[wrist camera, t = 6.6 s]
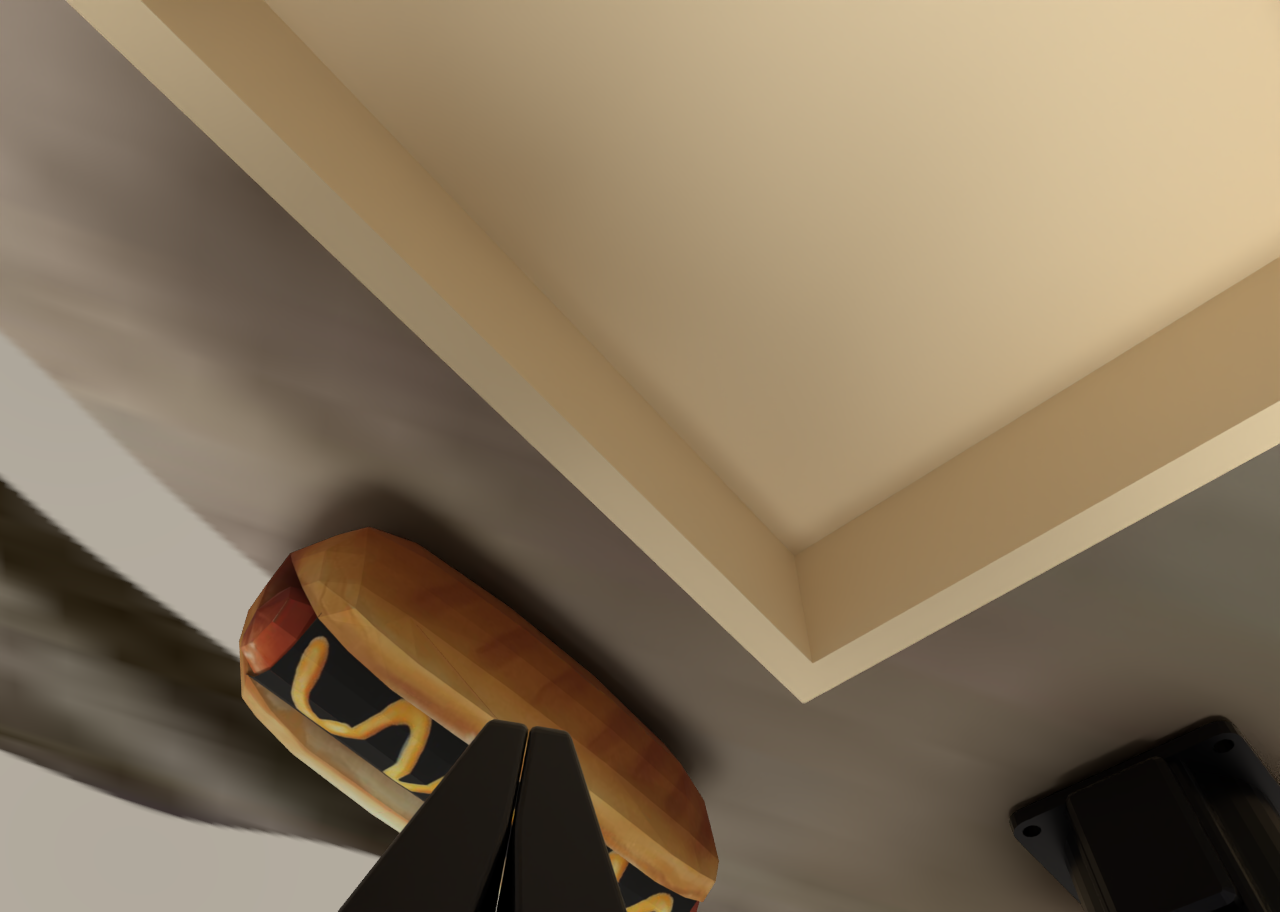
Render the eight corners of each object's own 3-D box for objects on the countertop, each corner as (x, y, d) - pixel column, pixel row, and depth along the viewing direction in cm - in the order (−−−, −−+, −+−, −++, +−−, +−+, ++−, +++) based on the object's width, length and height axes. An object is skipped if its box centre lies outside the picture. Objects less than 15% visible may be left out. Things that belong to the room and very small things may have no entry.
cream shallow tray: (1439, 177, 18) (1622, 255, 15) (784, 577, 24) (803, 703, 20) (916, -1023, 11) (1027, -1419, 8) (158, -64, 17) (22, -41, 13)
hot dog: (610, 833, 29) (599, 1002, 25) (244, 564, 24) (152, 717, 20) (741, 759, 27) (754, 928, 23) (375, 451, 22) (305, 593, 18)
